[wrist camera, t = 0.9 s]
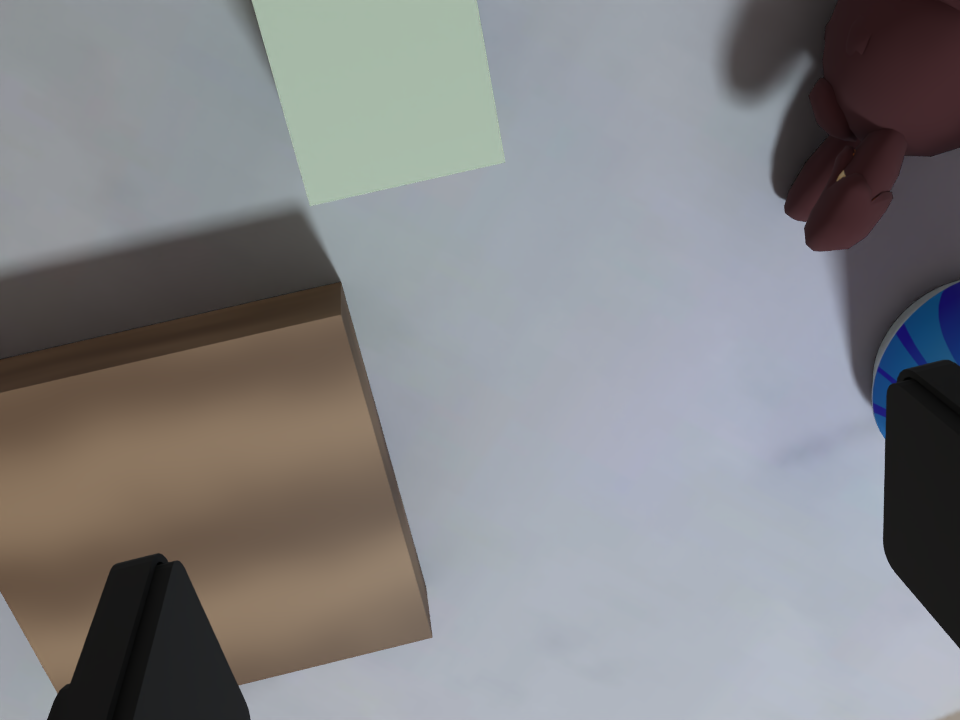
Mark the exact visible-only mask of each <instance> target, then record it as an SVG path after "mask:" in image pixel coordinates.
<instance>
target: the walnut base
mask: <svg viewBox="0 0 960 720" xmlns="http://www.w3.org/2000/svg"><path fill="white" fill-rule="evenodd" d="M157 553H160V554H163V555H164V556H165V557H166V558H167V560H168V562H172V561H176V560H178V561H180V562H181V563H182V564H183V566H184V567H185V569H186V571H187V574H188V576H189V578H190V580H191V582H192V585H193V587H194V589H195V591H196V594H197V596H198V598H199V600H200V602H201V605H202V607H203V609H204V611H205V613H206V616H207V618H208V620H209V622H210V624H211V627H212V629H213V631H214V633H215V635H216V638H217V640H218V642H219V644H220V646H221V649H222V651H223V653H224V655H225V657H226V660H227V662H228V664H229V666H230V668H231V671H232V673H233V675H234V677H235V679H236V682H237V684H238V685H242V684H246V683H250V682H254V681H258V680H262V679H266V678H270V677H274V676H279V675H283V674H287V673H291V672H295V671H299V670H303V669H307V668H311V667H315V666H319V665H323V664H327V663H331V662H335V661H339V660H343V659H347V658H352V657H356V656H360V655H364V654H368V653H372V652H376V651H380V650H384V649H388V648H392V647H396V646H400V645H404V644H408V643H412V642H416V641H420V640H424V639H429V638H433V637H432V630H431V622H430V614H429V606H428V599H427V591H426V585H425V582H424V578H423V574H422V571H421V567H420V564H419V560H418V556H417V553H416V549H415V546H414V542H413V539H412V535H411V531H410V528H409V524H408V521H407V517H406V513H405V510H404V506H403V503H402V499H401V495H400V492H399V488H398V485H397V481H396V478H395V474H394V470H393V467H392V463H391V460H390V456H389V452H388V449H387V445H386V442H385V438H384V434H383V431H382V427H381V424H380V420H379V416H378V413H377V409H376V406H375V402H374V399H373V395H372V391H371V388H370V384H369V381H368V377H367V373H366V370H365V366H364V363H363V359H362V355H361V352H360V348H359V345H358V341H357V338H356V334H355V330H354V327H353V323H352V320H351V316H350V312H349V309H348V305H347V302H346V298H345V294H344V291H343V287H342V284H341V282H338V283H333V284H329V285H325V286H320V287H316V288H312V289H307V290H303V291H298V292H294V293H290V294H285V295H281V296H276V297H272V298H268V299H263V300H259V301H255V302H250V303H246V304H241V305H237V306H233V307H228V308H224V309H219V310H215V311H211V312H206V313H202V314H198V315H193V316H189V317H184V318H180V319H176V320H171V321H167V322H163V323H158V324H154V325H149V326H145V327H141V328H136V329H132V330H127V331H123V332H119V333H114V334H110V335H106V336H101V337H97V338H92V339H88V340H84V341H79V342H75V343H70V344H66V345H62V346H57V347H53V348H49V349H44V350H40V351H35V352H31V353H27V354H22V355H18V356H13V357H9V358H5V359H0V592H1V593H2V595H3V597H4V599H5V601H6V602H7V604H8V606H9V608H10V609H11V611H12V613H13V615H14V617H15V618H16V620H17V622H18V624H19V625H20V627H21V629H22V631H23V633H24V634H25V636H26V638H27V640H28V641H29V643H30V645H31V647H32V649H33V650H34V652H35V654H36V656H37V658H38V659H39V661H40V663H41V665H42V666H43V668H44V670H45V672H46V674H47V675H48V677H49V679H50V681H51V682H52V684H53V686H54V688H55V690H56V691H57V693H58V692H59V691H60V690H61V689H62V688H63V687H64V686H65V685H66V684H70V683H71V680H72V677H73V674H74V671H75V669H76V666H77V663H78V660H79V657H80V654H81V651H82V649H83V646H84V643H85V640H86V637H87V634H88V632H89V629H90V626H91V623H92V620H93V617H94V615H95V612H96V609H97V606H98V603H99V600H100V598H101V595H102V592H103V589H104V586H105V583H106V580H107V578H108V575H109V572H110V570H111V568H112V566H113V565H115V564H116V563H120V562H124V561H128V560H132V559H136V558H140V557H144V556H148V555H153V554H157Z"/></svg>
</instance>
